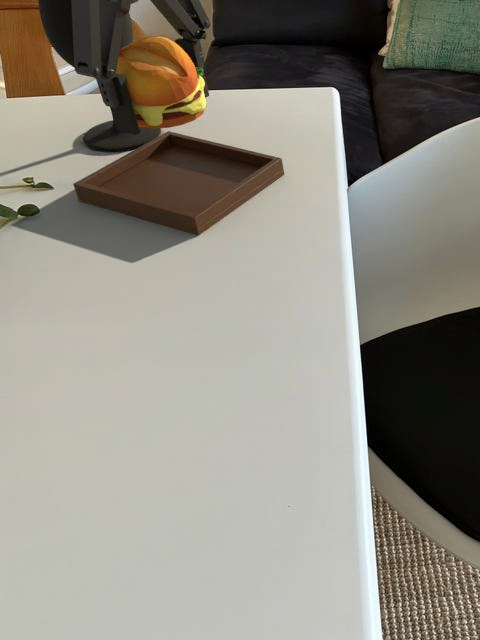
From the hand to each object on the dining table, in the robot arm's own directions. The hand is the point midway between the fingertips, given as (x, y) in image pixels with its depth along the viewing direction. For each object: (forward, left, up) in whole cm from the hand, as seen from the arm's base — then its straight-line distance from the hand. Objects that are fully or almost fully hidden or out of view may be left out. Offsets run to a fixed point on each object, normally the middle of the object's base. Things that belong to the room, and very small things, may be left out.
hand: (165, 112), depth 92 cm
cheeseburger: (0, 0, -1) cm, 1 cm away
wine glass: (-18, +8, -10) cm, 22 cm away
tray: (0, 0, -10) cm, 10 cm away
